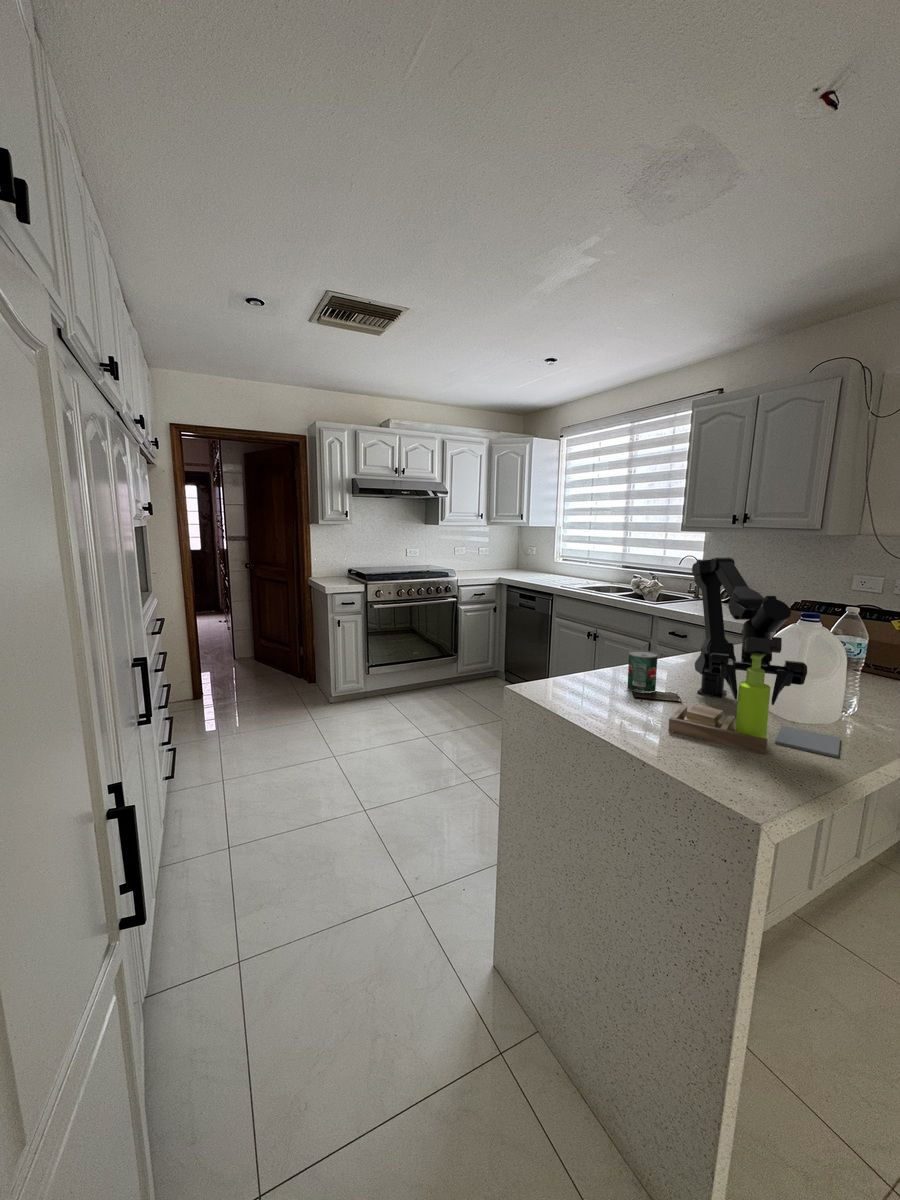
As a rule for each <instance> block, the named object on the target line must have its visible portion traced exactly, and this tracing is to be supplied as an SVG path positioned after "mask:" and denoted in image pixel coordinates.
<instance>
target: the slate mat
mask: <svg viewBox="0 0 900 1200" xmlns="http://www.w3.org/2000/svg"><path fill="white" fill-rule="evenodd" d="M774 744H776V745H779V746H784V747H789V748H794V749H798V750H802V751H806V752H810V753H816V754H818V755H823V756H827V757H831V758H837V759H839V754H840V744H841V737H839V736H835V735H829V734H825V733H822V732H821V733H820V732H816V731H811V730H805V729H801V728H796V727H792V726H786V725H781V726H780V729H779V731H778V733H777V735H776V738H775V743H774Z"/></svg>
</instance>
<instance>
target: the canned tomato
mask: <svg viewBox="0 0 900 1200" xmlns="http://www.w3.org/2000/svg"><path fill="white" fill-rule="evenodd" d="M627 666H628V669H627V687H626V689H627V690H628V691H630V692H632V690H634V689H638V690H644V691H655V690H656V689H657V687H656V686H657V670H658V668H657V667H658V653H657V652H654V651H649V650H641V649H639V650H630V651H628V665H627ZM656 691H657V690H656ZM656 691H655V692H656Z"/></svg>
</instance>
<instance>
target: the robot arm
mask: <svg viewBox="0 0 900 1200" xmlns="http://www.w3.org/2000/svg"><path fill="white" fill-rule="evenodd" d="M691 573H692V575H693V578H694V583H695V584H696V586H697V587H698V588H699V589H700V591H701V597H702V598H701V599H702V606H703V608H702V610H703V618H704V619H703V620H704V633H705V640H704V642H703V644H702V646H701V648H700V654H699V656H698V657H697V658H696V661H695V662H694V669H695V671H696V672H698V673H699V674H700V675H701V682H700V683H701V686H700V688H699V689H698V690H697V691H696V693H697V694H698V695H704V696H710V697H715V698H720V699H723V697H725V695H726V694H727V690H725V689H724V687H725V682H726V683H727V685H728V686H729V689H730V691H731V694H732V696H733V698H734V700H736V701H738V683H737V674H736V673H737V672H736V671H744V672H747V668H750V667H752V659H751V655H752V654H753V653H763V654H765V655H766V656H764V657H763V658H762V659H761V668H762V669H763V670H765V674H767V675H769V674H770V675H775V680H774V686H773V691H772V694H771V702H770V703H771V705H772V706H775V703H776V701H777V699H778V697H779V695H780V693H781V692H782V691H783V690H784V688H785V687H790V686H792V685H799V686H801V685H804V684H805V681H806V678H807V676H808V675H807V674H808V666H807V664H806V663H805V662H804V661H793V660H784V664H783V666H781V665H775V664H771V662H772V660H773V653H775V654H780V653H782V641H783V640H782V639H783V638H782V637H776V636H772V633H775V632H777V631H778V630H779V629H780V627H782V626H783V625H784V623H785V622H786V621H788V619H789V618H790V617H791V616H792V609H791V607H789V606H788V604H786V603H785V602H783V601H782V600H780V599H778V598H777V596H776V595H766V596H765V597H764V596H762V594H761V593H760V592H758V591H755V590H753V589H751V587H749V585H748V584H747V582H746V581H745V579H744V577H743V576H742V574H741V572H740V571H739V570H738V568H737V567H736V563H735V560H734V558H731V557H728V556H724V557H721V556H720V557H713V558H711V559H697V560H696V562H695V563H693V564H692V567H691ZM721 587H723V589H724V591H725V592H726V594H727V596H728V598H729V603H728V609H729V610H728V611H729V614H730V615H731V616H732V618H733V619H734V620H737V621H741V620H742V621H743V620H745V622H744V623H743V625H742V629H741V632H740V633H741V634H742V640H741V654H740V655H741V660H740V661H739V660H737V658H736V655H735V646H734V644H733V643H732V642H729V640H727V638H726V634H725V633H726V631H725V622H724V613H723V602H722V592H721Z"/></svg>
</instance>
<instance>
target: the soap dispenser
mask: <svg viewBox="0 0 900 1200" xmlns="http://www.w3.org/2000/svg"><path fill="white" fill-rule="evenodd" d="M764 656H766V655H765V654H763V653H753V654H752V655H751V659H752V667H750V668H747V671H746V675H745V676H746V679H745V680H744V681H740V682H739V684H738V692H737V706H736V717H735V718H736V719H735V720H736V721H735V731H734V732H738V733H743V734H747V735H752V736H756V737H760V738H765V739H767V732H768V730H767V729H768V721H769V710H770V709H769V708H770V699H771V686H770V685H768V684H767V683H765V679H766V678H765V675H766V673H765V670H763V669H762V668H761V659H762V658H763V657H764Z"/></svg>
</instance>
